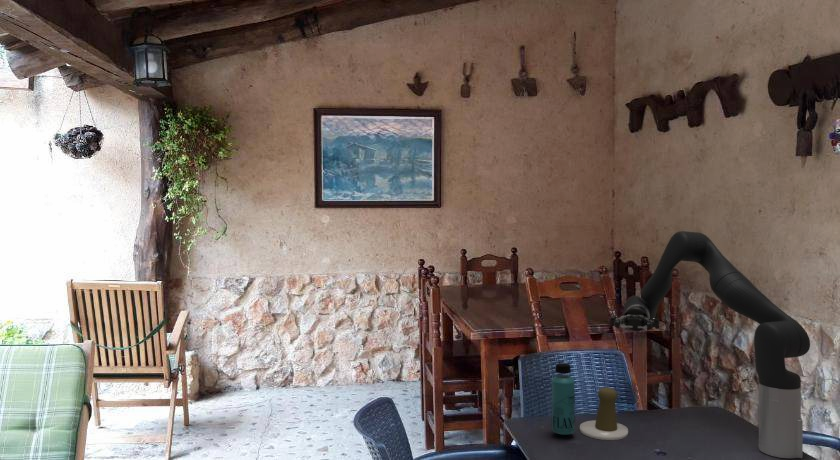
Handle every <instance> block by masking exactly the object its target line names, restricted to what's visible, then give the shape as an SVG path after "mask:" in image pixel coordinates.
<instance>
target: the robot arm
mask: <svg viewBox="0 0 840 460" xmlns="http://www.w3.org/2000/svg"><path fill="white" fill-rule="evenodd" d="M682 261H683V262H692V263H698V264H699V265H700V266H702V268H704V269H705V271H707V273H708V274H709V285H710V289H711V291H712V292H713V293H714V295H715V296H716V297H717V298H718V299H719V300H720V301H721V302H722V303H723V304H724V306H726V307H727V308H729V309H730V310H732V311H734V312H736V313H737V314H740V315H741V316H743V317H746V318H748V319H749V320H752V321H754V322H756V323H757V324H759V325H758V326H757V327H756V329H755V332H754V337H753V346H754V347H753V348H754V360H755V364H754V365H755V370H756V373H757V377H758V450H759V451H760V452H761V453H763V454H766V455H768V456H771V457H774V458H781V459H803V449H804V448H803V445H804V444H803V443H804V442H803V419H802V410H801V409H802V400H801V399H802V392H801V391H802V381H801V379H802V378H801V376H800V375H799V374H798V373H797V372H793V371H792V370H791V371H790V370H788V369H787V368H786V361H785V359H791V358H793V359H794V358H799V357H802V356H805V355H806V354H808V352H809V351H810V348H811V340H810V339H811V338H810V337H809V335H808V332H807V331H806V330H805V328H804V327H803V326H802V325H801V324H800V323H799V322H798V321H797V320H795V319H794V318H793V317H791V316H790V315H789V314H788V313H787V312H784V311H783V310H782V309H781V308H780V307H778V306H777V305H776V304H775V303H773V301H771V300H770V299H769V298H768V297H767V296H766V295H765V294H764V293H763V292H762V291H761V290H759V288H757V287H756V286H755V285H754V284H753V283H752V282H751V280H750V279H748V278H747V277H746V276H745V275H744V274H743V273H742V272H741V271H739V270H738V269H737V267H736V266H734V265H733V263H731V262H730V260H728V259H727V258H726V256H724V255H723V253H721V251H720V250H719V249H718V247H717V246H716V245H715V243H714V242H713V241H712V240H711V239H710V238H709V237H708V236H707V235H706V234H704V233H702V232H697V231H696V232H695V231H683V230H681V231H677V232H675V233H674V234H672V236H671V237H670V239H669V241H668V242H667V244H666V246H665V249H664V251H663V252H662V255H661V257H660V259H659V262H658V264H657V266H656V267H655V269H654V272H653V273H652V274H651V276H650V277H649V279H648V280H647V281H646V283H645V285H644V286H643V287H642V289H641V290H640V296H639V295H632V296H629V297H628V298H627V299H626V301H625V303H624V306H623V311H624V314H623V315H621V316H620V317H618V316H617V315H615V314H613V315H611V316H610V317H609V326H610V327H614V328H616V330H617V329H618V330H619V329H620V328H623V329H624V328H627V329H628V330H630V331H632V332H642V331H643V330H646V331H650V330H653V329H656V330H660V328H661V327H660V317H657V316H656V315H657V312H658V308H659V307H660V304H661V302H662V300H663V299H664V298H665V297H666V295H667V294H668V292H669V291H670V290H671V287H672V285H673V270H674V269H675V267H676V266H677V265H678V264H679V263H680V262H682Z"/></svg>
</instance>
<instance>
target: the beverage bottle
mask: <svg viewBox="0 0 840 460" xmlns="http://www.w3.org/2000/svg"><path fill="white" fill-rule="evenodd" d="M571 371H572V370H571V364H569V363H565V362H559V363H556V365H555V370H554V372H555V373H557V374H556V375H555V376H554V377H552V379H551V415H550V416H551V424H550V425H551V426H550V427H551V429H552V432H553V433H555V434H559V435H572V434H574V433H575V430H576V414H575V413H576V409H575V405H576V404H575V403H576V393H575V383H576V382H575V381H576V380H574V378H573V377H572V376H571V375H569V374H570V373H572V372H571Z"/></svg>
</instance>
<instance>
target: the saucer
mask: <svg viewBox="0 0 840 460" xmlns="http://www.w3.org/2000/svg"><path fill="white" fill-rule="evenodd" d="M595 423H596V419H595V420H594V419H593V420H587V421H584V422H582V423H580V425H579V432H580V433H581V434H582V435H584V436H586V437H588V438H590V439H596V440H602V441H616V440H617V441H618V440H619V441H620V440H622V439H626V438H627V437H628V436H629V429H628V427H627V426H625V425H624V424H621V423H620V422H617V430H616V431H603V430H600V429H598V428H596V427H595Z"/></svg>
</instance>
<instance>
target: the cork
mask: <svg viewBox="0 0 840 460" xmlns="http://www.w3.org/2000/svg"><path fill="white" fill-rule="evenodd" d="M597 396H598V397H597V398H598V399H599V402H598V408H597V411H596V412H597V414H596V418H595V420H596V423H595V427H596V428H598V429H600V430H603V431H616V430H617V423H618V422H617V421H618V419H617V409H616V401H617V399H618V393H617V390H615V388H611V387H601V388H600V389H599V390H598V392H597Z"/></svg>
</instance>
